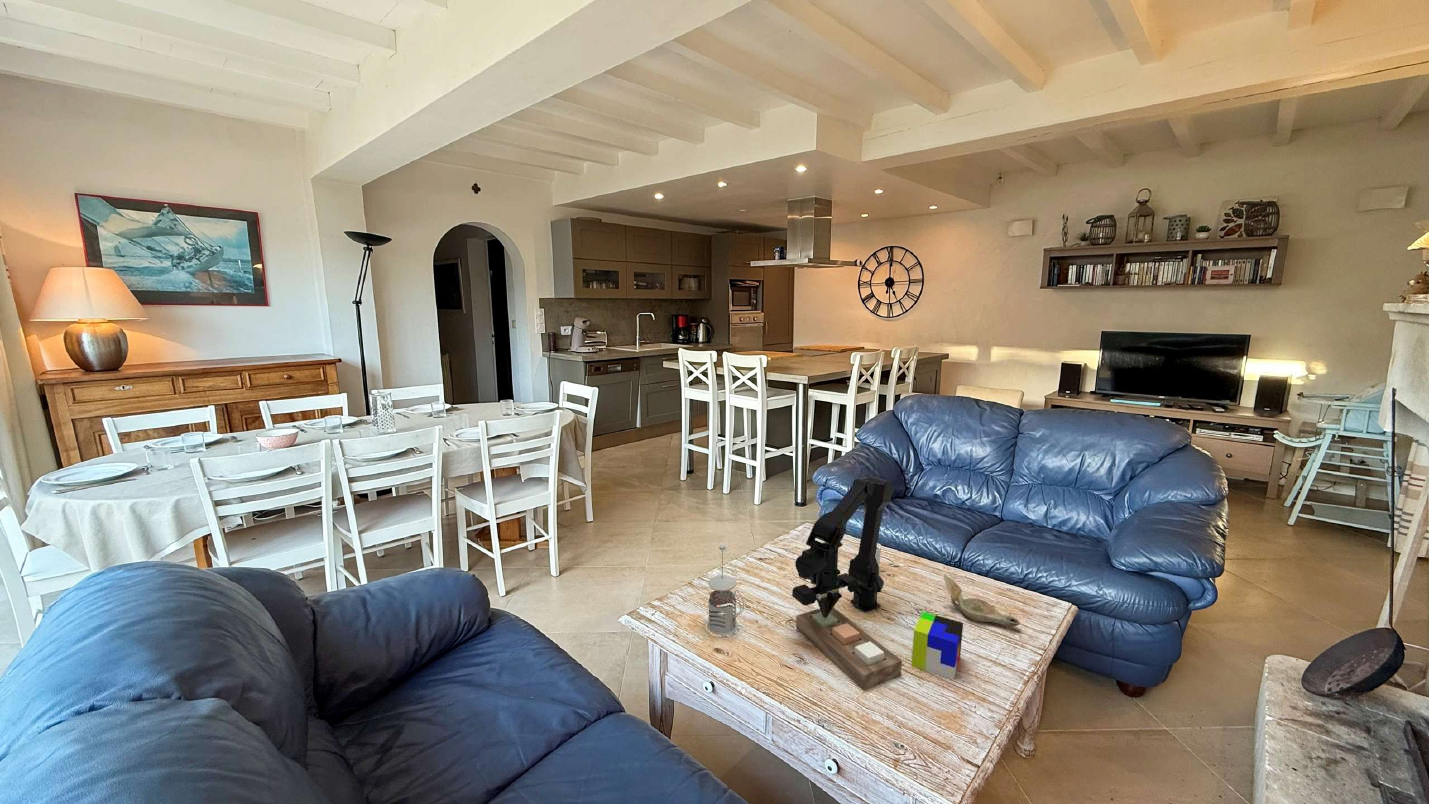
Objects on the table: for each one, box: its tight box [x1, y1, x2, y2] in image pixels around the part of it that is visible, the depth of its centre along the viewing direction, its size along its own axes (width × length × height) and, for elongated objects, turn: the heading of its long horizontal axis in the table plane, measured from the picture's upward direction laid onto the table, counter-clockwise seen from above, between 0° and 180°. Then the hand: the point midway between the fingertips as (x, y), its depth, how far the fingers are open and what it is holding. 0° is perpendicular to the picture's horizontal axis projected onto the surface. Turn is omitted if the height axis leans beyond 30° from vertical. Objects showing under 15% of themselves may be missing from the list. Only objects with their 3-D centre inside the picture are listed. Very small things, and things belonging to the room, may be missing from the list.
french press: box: [706, 544, 745, 636], centre depth 155 cm, size 10×12×25 cm
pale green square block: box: [812, 612, 838, 628], centre depth 154 cm, size 5×5×3 cm
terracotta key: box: [832, 623, 860, 646], centre depth 146 cm, size 5×5×3 cm
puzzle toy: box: [911, 611, 964, 681], centre depth 141 cm, size 10×10×10 cm
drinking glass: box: [875, 543, 882, 567], centre depth 188 cm, size 7×7×10 cm
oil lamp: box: [943, 574, 1021, 628], centre depth 161 cm, size 9×21×10 cm, turn 47°
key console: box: [795, 606, 903, 691], centre depth 147 cm, size 12×28×4 cm, turn 26°
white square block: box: [854, 641, 884, 666], centre depth 138 cm, size 5×5×3 cm
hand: (824, 616), depth 154 cm, fingers closed
